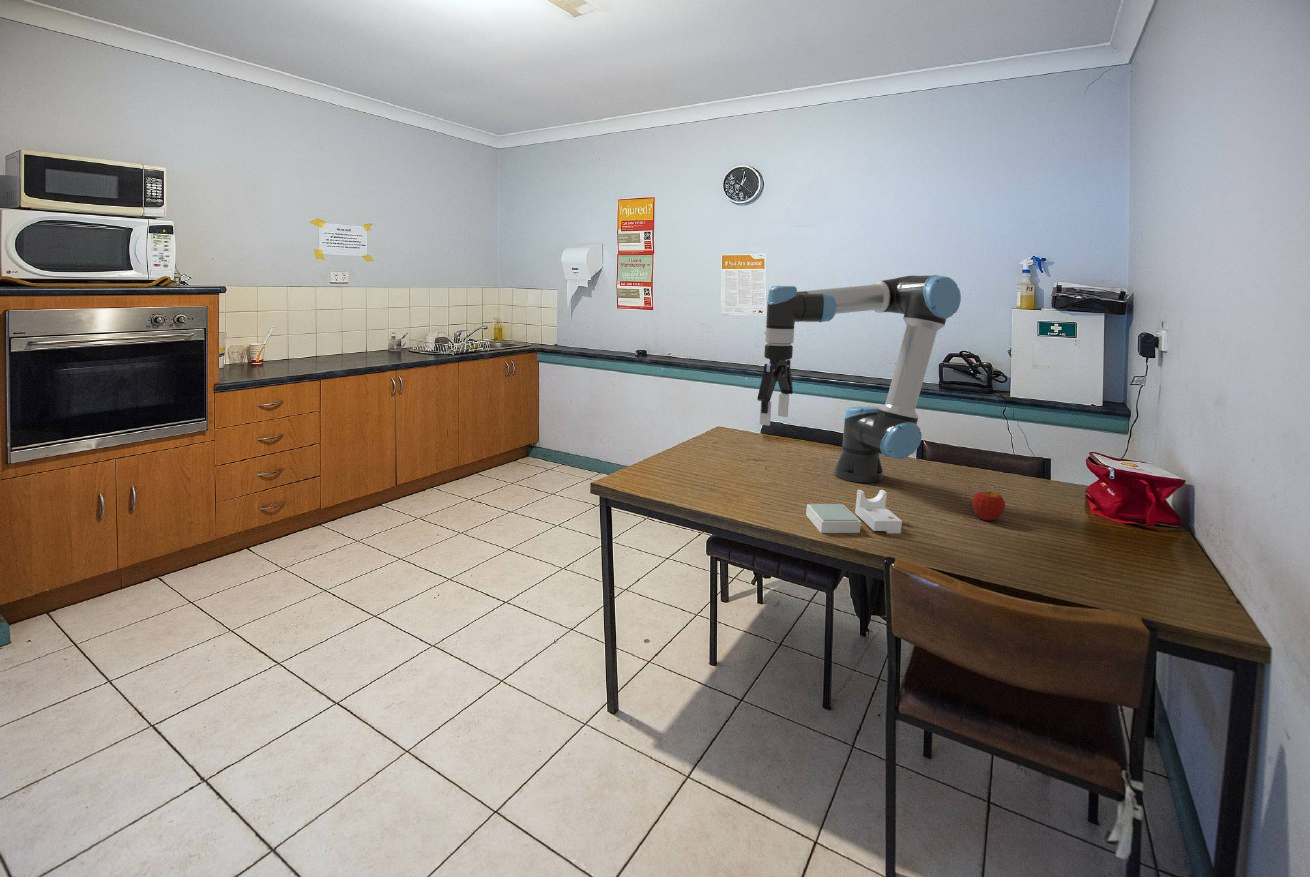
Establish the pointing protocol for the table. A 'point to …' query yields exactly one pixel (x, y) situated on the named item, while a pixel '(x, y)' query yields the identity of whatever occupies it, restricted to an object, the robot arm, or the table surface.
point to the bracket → (877, 513)
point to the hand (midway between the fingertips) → (774, 420)
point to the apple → (988, 505)
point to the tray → (833, 518)
